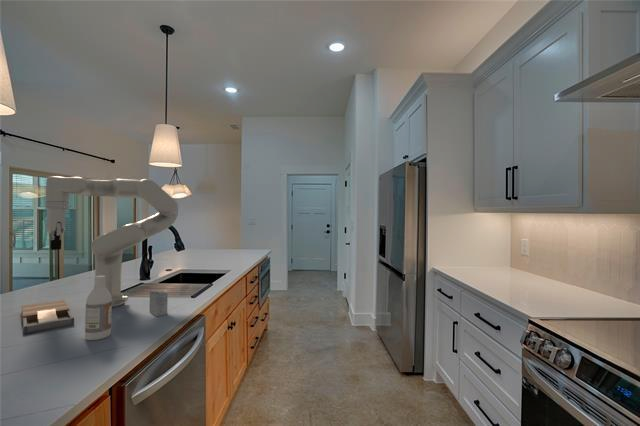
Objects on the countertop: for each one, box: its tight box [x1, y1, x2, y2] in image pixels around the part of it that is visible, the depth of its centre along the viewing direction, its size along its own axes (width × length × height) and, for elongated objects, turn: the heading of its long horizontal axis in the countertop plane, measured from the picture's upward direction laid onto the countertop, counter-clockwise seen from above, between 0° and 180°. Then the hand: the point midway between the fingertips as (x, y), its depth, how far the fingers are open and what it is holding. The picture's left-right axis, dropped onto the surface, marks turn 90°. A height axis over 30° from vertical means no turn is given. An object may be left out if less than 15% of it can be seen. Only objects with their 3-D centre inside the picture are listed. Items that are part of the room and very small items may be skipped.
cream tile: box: [38, 316, 58, 324], centre depth 107 cm, size 5×5×2 cm
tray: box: [22, 310, 75, 335], centre depth 109 cm, size 12×13×2 cm
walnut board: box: [21, 299, 71, 324], centre depth 119 cm, size 16×13×3 cm
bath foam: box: [84, 275, 113, 341], centre depth 100 cm, size 7×7×20 cm
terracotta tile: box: [37, 309, 56, 323], centre depth 111 cm, size 5×5×2 cm
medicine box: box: [148, 289, 169, 317], centre depth 125 cm, size 8×4×9 cm, turn 47°
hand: (55, 249), depth 127 cm, fingers closed
